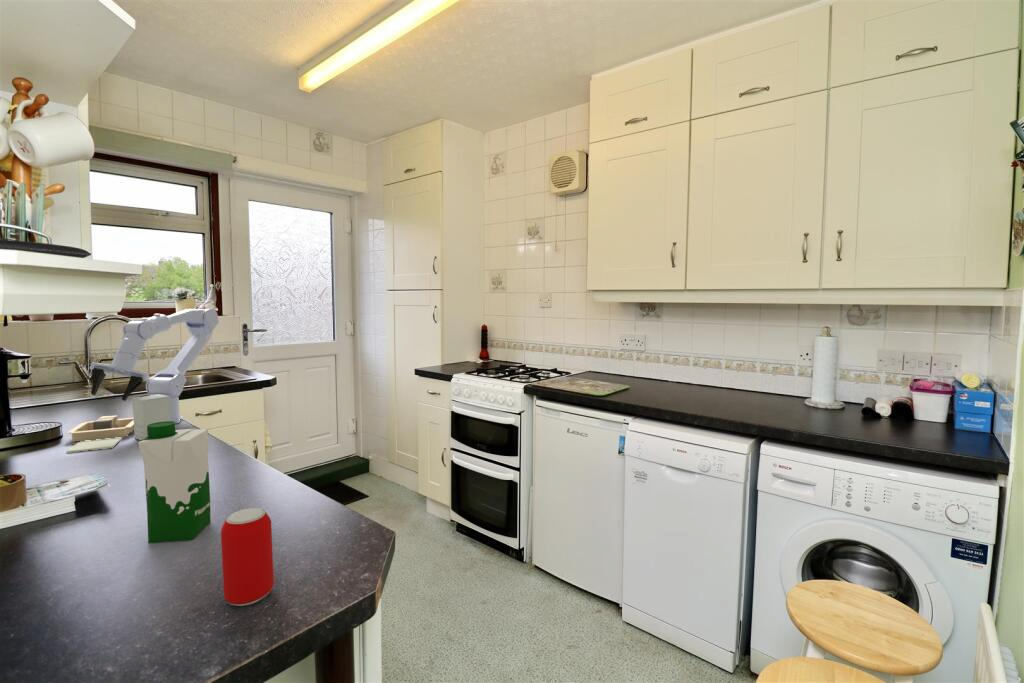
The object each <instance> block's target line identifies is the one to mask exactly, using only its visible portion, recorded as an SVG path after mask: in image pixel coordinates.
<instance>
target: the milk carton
mask: <svg viewBox="0 0 1024 683" xmlns="http://www.w3.org/2000/svg"><path fill="white" fill-rule="evenodd" d="M147 434H148V436H147V437H146V438H145V439H143V440H142V441H141V440H139V441H138V443H137V444H138V447H139V450H140V454H141V457H142V461H143V467H144V468H143V469H144V471H143V472H144V483H145V484H144V485H145V486H144V488H145V500H146V516H147V522H146V523H147V543H148V544H154V543H155V544H156V543H168V542H181V541H182V542H183V541H184V542H186V541H193V540H195V538H196V537H197V536H199V534H200V533H202V532H203V530H205V528H207V526H209V525H210V523H211V491H210V490H211V488H210V471H209V451H208V450H209V448H208V447H209V429H208V428H205V429H204V428H202V429H201V428H200V429H199V428H198V429H194V428H186V429H176V423H175V422H171V421H166V422H157V423H152V424H149V425H148V426H147Z"/></svg>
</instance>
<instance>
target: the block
mask: <svg viewBox="0 0 1024 683" xmlns="http://www.w3.org/2000/svg"><path fill="white" fill-rule="evenodd" d="M118 419H119V418H118V415H105V416H104V415H103V416H100V417H99V418H97V419H96V420H93V421H94V422H93V430H99V429H110V428H118Z"/></svg>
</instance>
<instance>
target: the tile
mask: <svg viewBox="0 0 1024 683" xmlns="http://www.w3.org/2000/svg"><path fill="white" fill-rule="evenodd" d="M122 440H123V437H121V438H111V439H101V440H91V441H80V442H76V444H74V445H73V446H71V447H70V448H69V449H68V450H66V454H70V453H69V452H74V453H80V452H79V451H83V452H89V451H88V450H93V451H99V450H98V449H102V450H108V449H107V448H112V449H114V448H115V447H116V446H117V445H118V444H119V443H120V442H122ZM119 441H120V442H119ZM118 442H119V443H118ZM117 443H118V444H117ZM116 444H117V445H116ZM115 445H116V446H115ZM114 446H115V447H114ZM113 447H114V448H113Z"/></svg>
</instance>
